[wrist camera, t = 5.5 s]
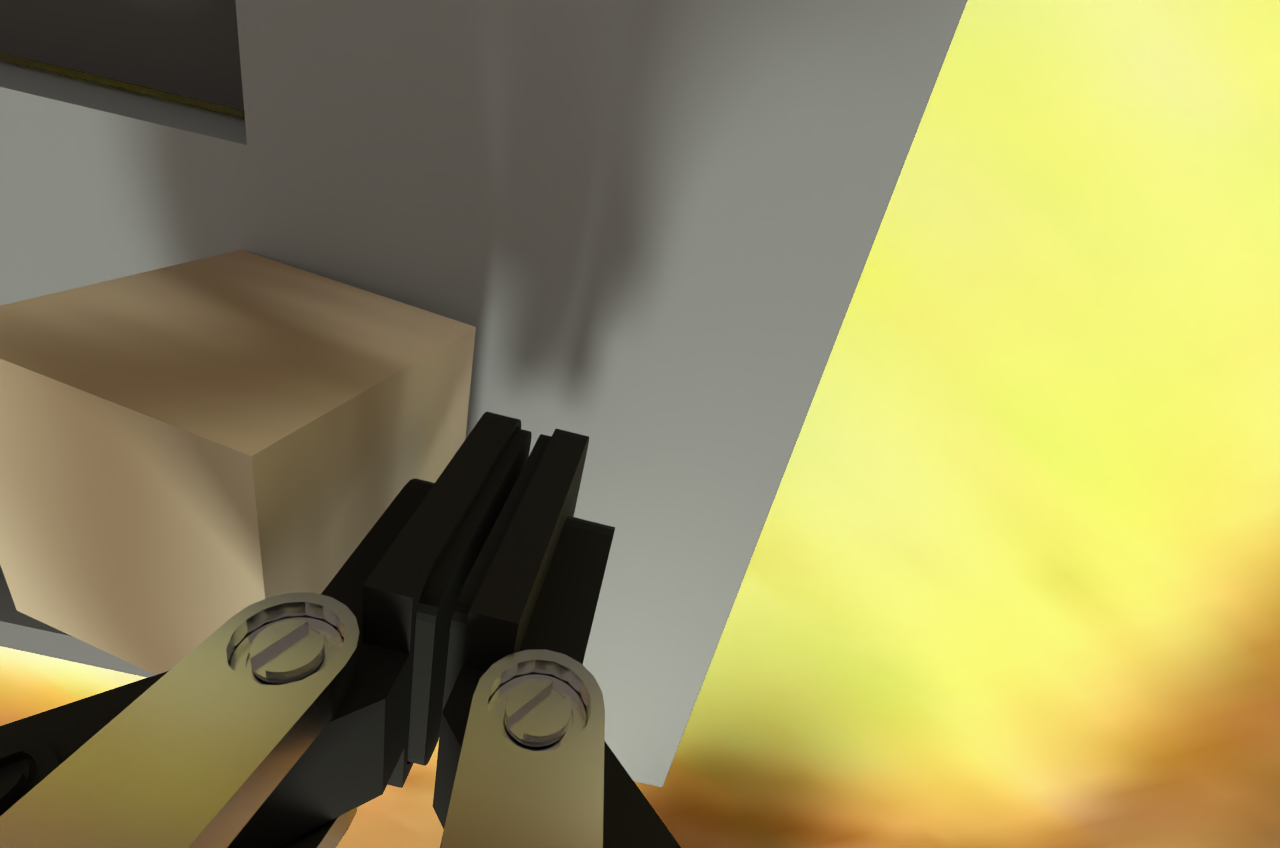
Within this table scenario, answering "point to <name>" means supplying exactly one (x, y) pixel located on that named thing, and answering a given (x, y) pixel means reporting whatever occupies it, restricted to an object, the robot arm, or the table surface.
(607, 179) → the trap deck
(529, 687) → the robot arm
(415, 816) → the table surface
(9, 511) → the maple cube
